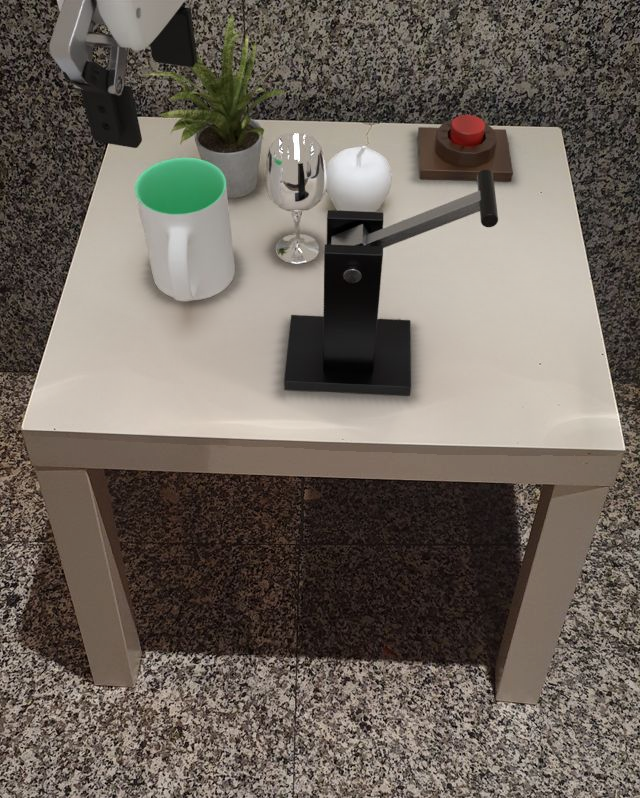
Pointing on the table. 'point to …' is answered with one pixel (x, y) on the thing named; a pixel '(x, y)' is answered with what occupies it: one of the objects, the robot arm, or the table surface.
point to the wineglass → (296, 189)
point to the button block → (462, 155)
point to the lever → (429, 218)
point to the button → (467, 130)
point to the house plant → (224, 117)
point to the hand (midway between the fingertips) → (148, 100)
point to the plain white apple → (358, 180)
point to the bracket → (350, 324)
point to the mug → (186, 227)
